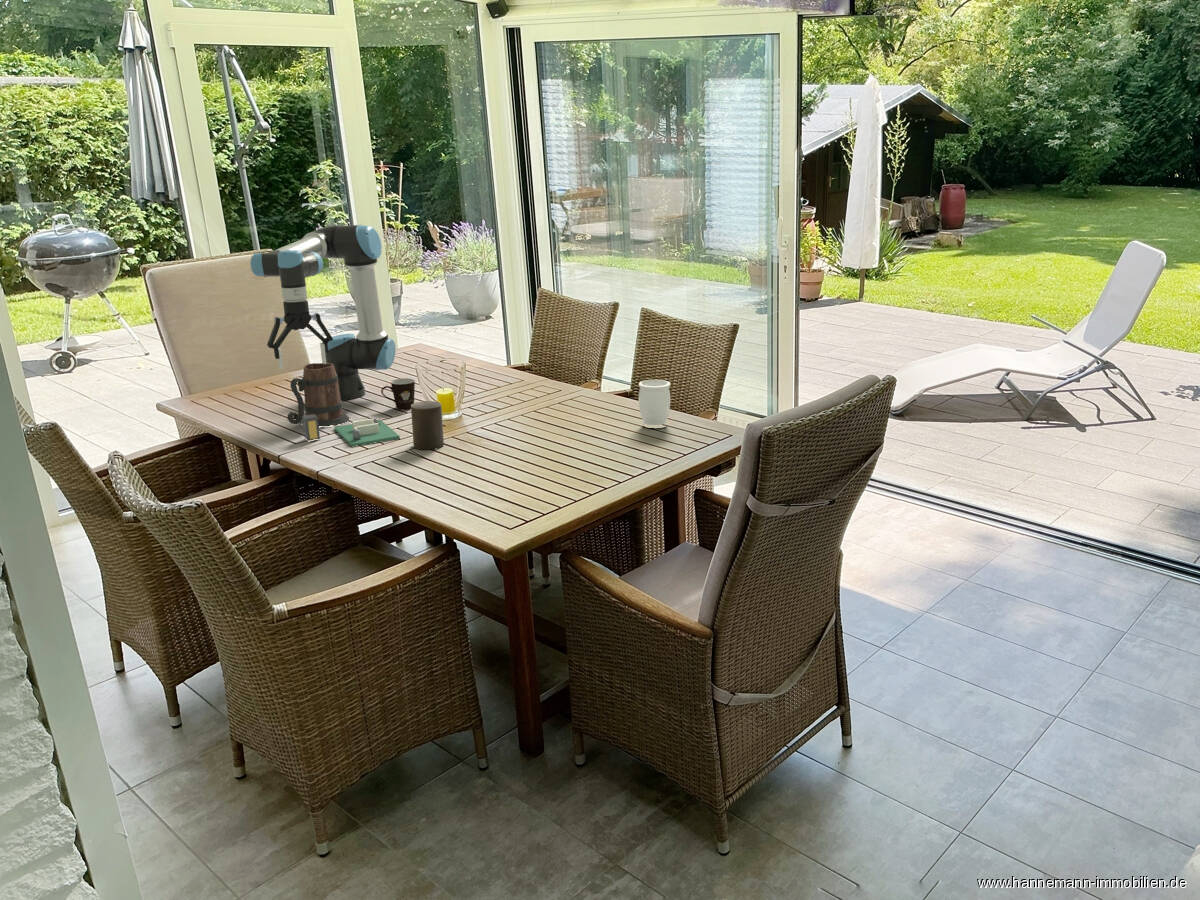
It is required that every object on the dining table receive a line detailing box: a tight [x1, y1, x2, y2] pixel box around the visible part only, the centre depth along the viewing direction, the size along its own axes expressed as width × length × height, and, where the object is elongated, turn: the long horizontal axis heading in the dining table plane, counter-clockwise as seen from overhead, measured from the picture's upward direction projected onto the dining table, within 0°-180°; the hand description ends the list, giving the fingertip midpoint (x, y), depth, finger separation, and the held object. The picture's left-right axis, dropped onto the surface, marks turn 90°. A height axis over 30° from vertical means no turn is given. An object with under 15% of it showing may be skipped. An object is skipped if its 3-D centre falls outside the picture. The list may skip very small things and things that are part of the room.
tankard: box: [287, 362, 350, 426], centre depth 335 cm, size 24×17×20 cm
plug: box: [302, 414, 321, 440], centre depth 319 cm, size 4×4×8 cm
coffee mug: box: [381, 377, 416, 411], centre depth 353 cm, size 12×9×10 cm
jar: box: [638, 379, 671, 425], centre depth 324 cm, size 11×10×15 cm
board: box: [333, 418, 401, 447], centre depth 324 cm, size 22×16×4 cm
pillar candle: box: [410, 400, 445, 451], centre depth 310 cm, size 10×10×15 cm
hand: (303, 365), depth 312 cm, fingers open, 13 cm apart
